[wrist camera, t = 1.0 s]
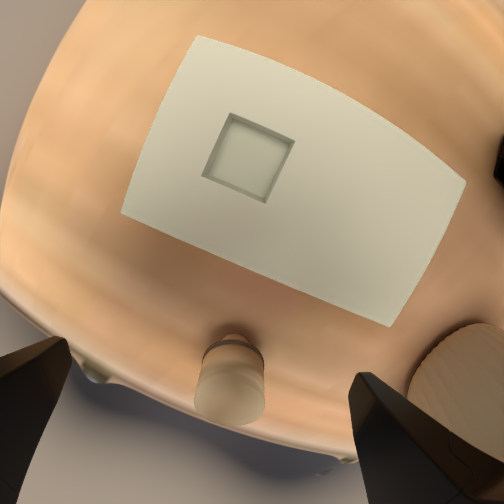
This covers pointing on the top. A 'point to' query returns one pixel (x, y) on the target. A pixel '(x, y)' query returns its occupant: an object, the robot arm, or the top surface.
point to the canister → (466, 386)
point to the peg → (231, 382)
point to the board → (292, 181)
